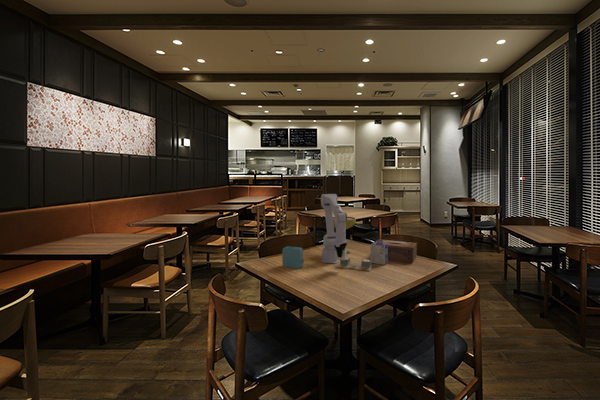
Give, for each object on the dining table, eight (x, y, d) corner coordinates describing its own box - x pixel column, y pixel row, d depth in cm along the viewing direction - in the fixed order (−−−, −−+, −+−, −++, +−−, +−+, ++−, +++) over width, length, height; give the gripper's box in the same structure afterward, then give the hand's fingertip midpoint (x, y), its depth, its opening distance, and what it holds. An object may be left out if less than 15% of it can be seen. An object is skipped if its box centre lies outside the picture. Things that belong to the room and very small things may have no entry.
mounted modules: (340, 264, 187) (340, 259, 187) (342, 261, 192) (342, 256, 191) (369, 267, 180) (369, 262, 180) (371, 264, 185) (371, 259, 185)
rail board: (338, 267, 186) (338, 265, 186) (342, 263, 194) (342, 261, 194) (370, 271, 178) (370, 269, 178) (372, 266, 187) (372, 265, 187)
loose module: (334, 259, 179) (334, 250, 179) (336, 257, 183) (336, 248, 182) (344, 260, 177) (345, 251, 176) (346, 258, 181) (346, 249, 180)
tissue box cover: (416, 257, 207) (416, 243, 206) (413, 263, 195) (413, 247, 194) (378, 253, 220) (378, 239, 219) (372, 258, 207) (373, 243, 206)
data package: (303, 266, 188) (303, 247, 187) (300, 268, 184) (300, 249, 182) (285, 264, 192) (285, 246, 191) (282, 266, 188) (282, 247, 187)
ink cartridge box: (388, 263, 194) (388, 240, 193) (385, 265, 189) (385, 242, 188) (373, 260, 200) (373, 238, 198) (369, 262, 195) (370, 240, 194)
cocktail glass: (328, 255, 214) (328, 219, 212) (331, 248, 232) (331, 216, 229) (354, 256, 210) (355, 220, 208) (355, 250, 228) (356, 216, 225)
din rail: (339, 265, 187) (339, 264, 187) (341, 262, 192) (341, 261, 192) (370, 268, 180) (370, 267, 180) (372, 266, 185) (372, 265, 185)
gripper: (344, 236, 170) (344, 260, 172) (350, 231, 184) (350, 253, 185) (332, 235, 173) (332, 258, 174) (338, 230, 186) (338, 252, 188)
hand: (340, 256), depth 180 cm, fingers closed on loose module, 4 cm apart
